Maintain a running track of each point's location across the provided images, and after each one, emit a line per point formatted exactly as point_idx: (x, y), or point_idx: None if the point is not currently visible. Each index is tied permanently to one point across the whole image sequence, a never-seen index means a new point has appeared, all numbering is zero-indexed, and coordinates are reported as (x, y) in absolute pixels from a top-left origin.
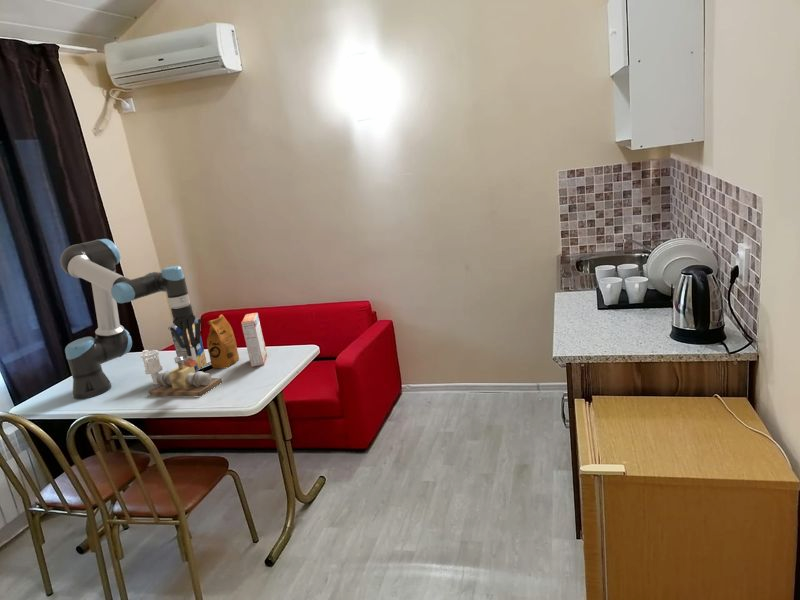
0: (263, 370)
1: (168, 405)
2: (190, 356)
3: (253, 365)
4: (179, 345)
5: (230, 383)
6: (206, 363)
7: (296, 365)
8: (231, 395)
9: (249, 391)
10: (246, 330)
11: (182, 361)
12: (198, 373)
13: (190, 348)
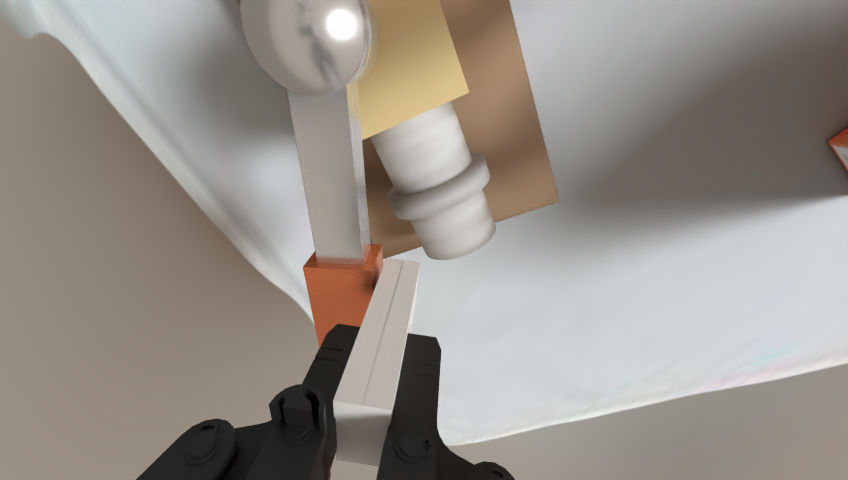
0: (754, 261)
1: (251, 187)
2: (370, 305)
3: (842, 154)
4: (148, 470)
5: (555, 242)
6: None
7: (820, 357)
8: (460, 347)
9: (513, 375)
10: None
11: (310, 205)
12: (431, 211)
13: (337, 456)
